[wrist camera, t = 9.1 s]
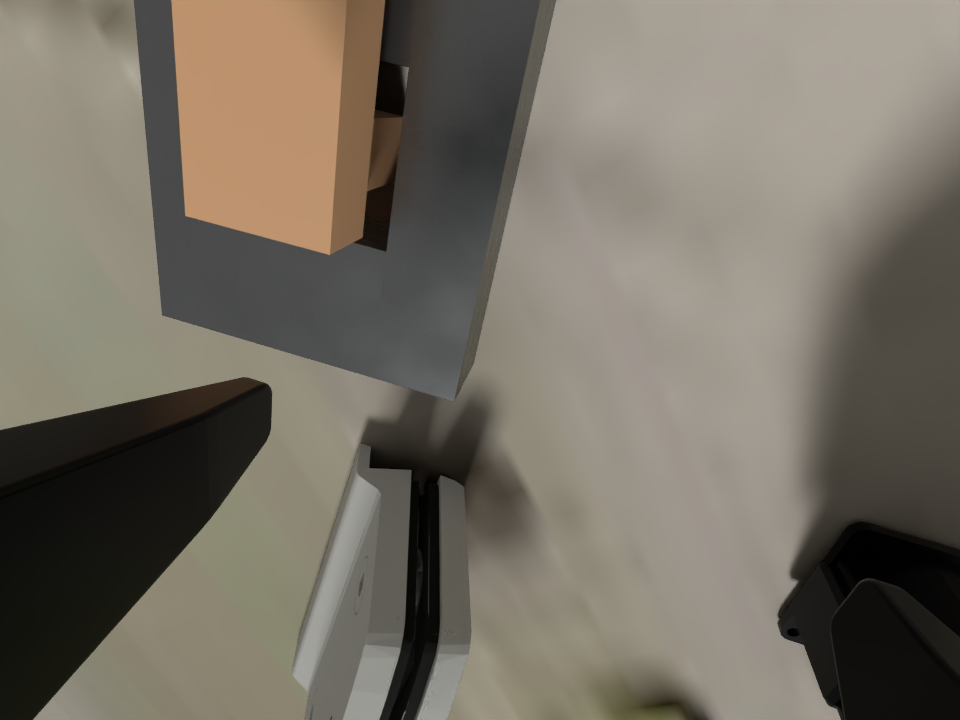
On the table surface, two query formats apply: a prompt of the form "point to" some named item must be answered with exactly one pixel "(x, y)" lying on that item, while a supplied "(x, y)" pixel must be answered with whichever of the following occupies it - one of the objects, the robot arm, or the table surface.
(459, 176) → the gray slotted slab
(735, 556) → the table surface
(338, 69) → the tan wooden plank
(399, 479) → the grey upright panel
